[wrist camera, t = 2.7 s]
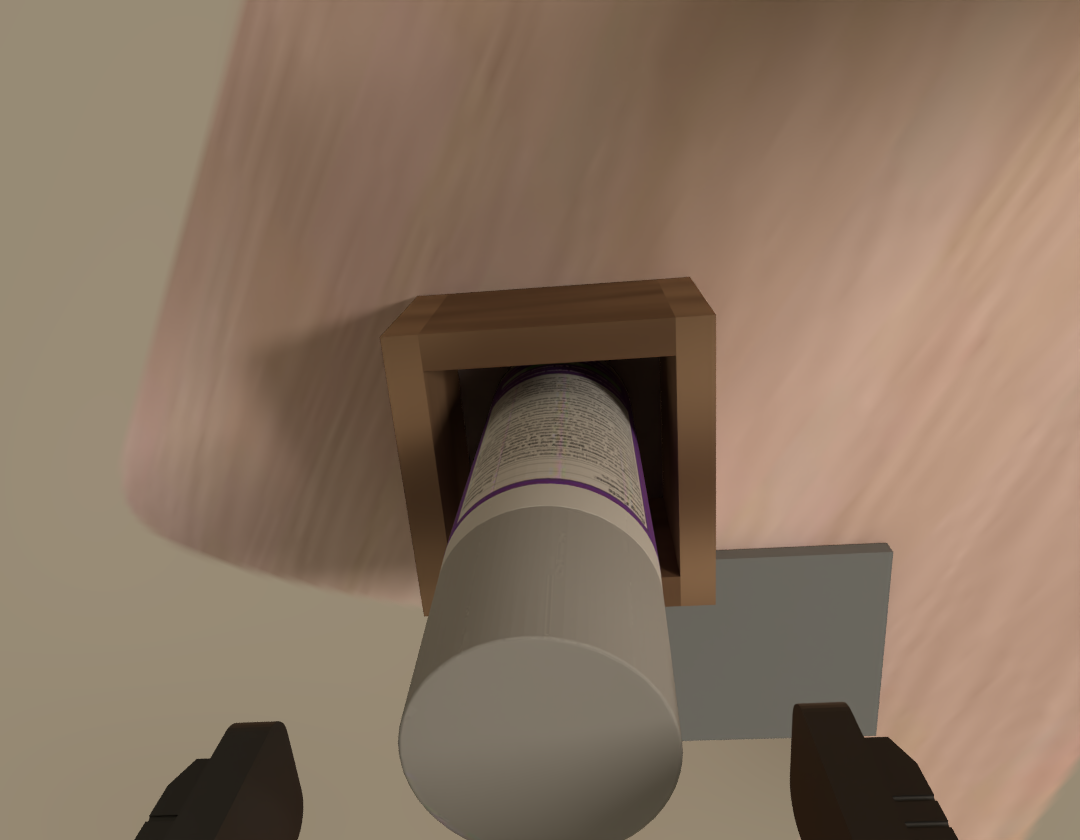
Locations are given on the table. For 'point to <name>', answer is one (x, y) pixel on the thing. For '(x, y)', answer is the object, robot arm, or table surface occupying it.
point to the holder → (544, 338)
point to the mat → (782, 640)
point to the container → (548, 628)
